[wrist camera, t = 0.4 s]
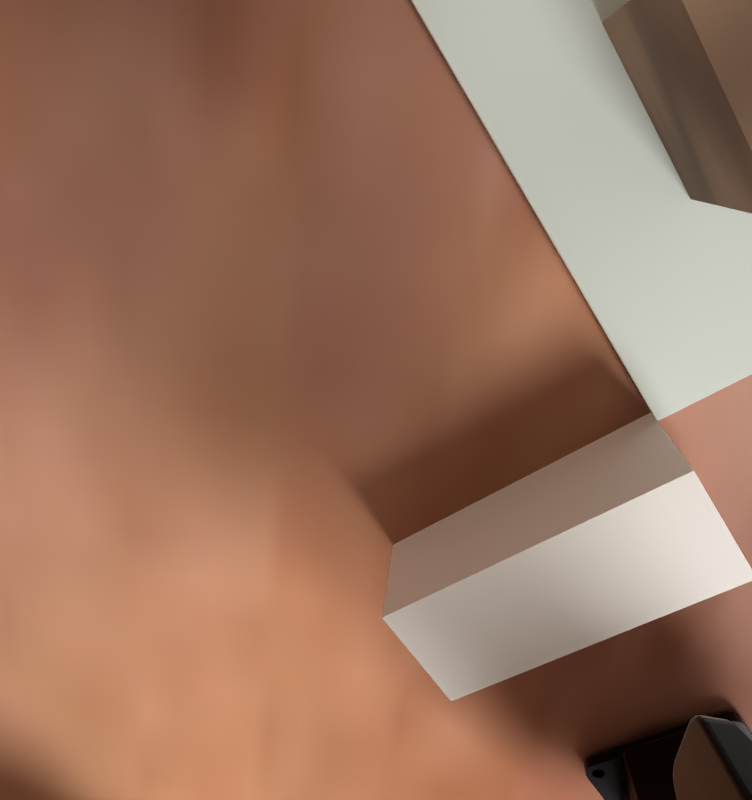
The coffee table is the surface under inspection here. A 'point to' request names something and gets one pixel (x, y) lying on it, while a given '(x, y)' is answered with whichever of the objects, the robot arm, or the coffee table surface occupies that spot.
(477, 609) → the lintel
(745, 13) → the block
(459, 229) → the coffee table surface
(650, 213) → the board
